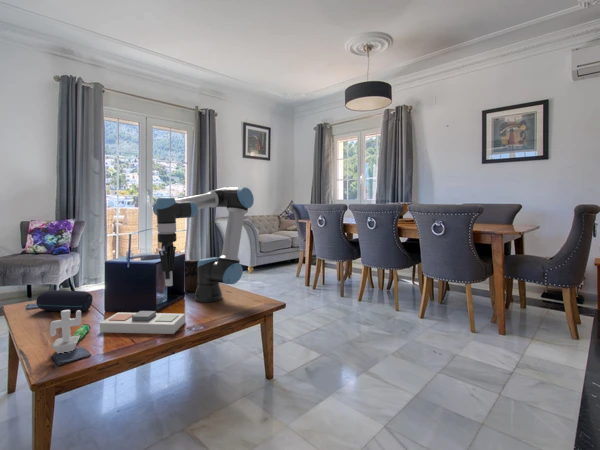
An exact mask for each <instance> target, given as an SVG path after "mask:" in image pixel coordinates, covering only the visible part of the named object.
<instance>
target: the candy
mask: <svg viewBox="0 0 600 450" xmlns="http://www.w3.org/2000/svg"><path fill="white" fill-rule="evenodd" d="M90 330H91V326H90V325H89V324H88V323H87V324H85V323H84V324H82V325H81V326H80V327H79V328H78V329H77V330H76V331H75V333H74V334H73V335H72V334H71V337H72V336H79V335H80V337H79V340H78V342H80V341H81V339H83V337H84V336H85V335H86V334H87V333H88V332H89V331H90Z"/></svg>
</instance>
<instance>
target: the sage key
mask: <svg viewBox="0 0 600 450" xmlns="http://www.w3.org/2000/svg"><path fill="white" fill-rule="evenodd" d="M177 317H178V315H162V316H160V317H159V318H158V319H157V320H155V322H173V321H174V320H175V319H176V318H177Z"/></svg>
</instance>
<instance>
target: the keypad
mask: <svg viewBox="0 0 600 450" xmlns="http://www.w3.org/2000/svg"><path fill="white" fill-rule="evenodd" d="M136 313H137V312H123V311H121V312H116V313H114V314H113V315H111V316H109V317H108V318H106V319H103V320H102V321H101V322H99V333H106V334H107V333H112V334H113V333H114V334H115V333H116V334H122V333H124V334H156V335H157V334H162V335H165V334H166V335H174V334H175V333H176V332H177V331H178V330H179V329H180V328H181V327H182V326H183V325H184V324H186V313H173V312H172V313H170V312H169V313H167V312H162V313H161V312H156V316H155V317H154V318H153V319H151V320H150V321H149V322H145V321H132V317H131V318H129V319H128V320H126V321H109V319H111V318H112V317H114V316H116V315H117V314H134V315H135V314H136ZM162 315H178V317H177V318H176V319H175V320H174V321H173V322H155V320H157V319H158V318H159V317H160V316H162Z"/></svg>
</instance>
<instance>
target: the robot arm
mask: <svg viewBox="0 0 600 450" xmlns="http://www.w3.org/2000/svg"><path fill="white" fill-rule="evenodd" d="M254 199H255V198H254V195H253V193H252V190H251V189H250V188H249V187H245V186H244V187H243V186H231V187H229V186H227V187H221V188H218V189H212V190H208V192H206V193H202V194H197V195H191V196H186V197H182V198H175V197H157V199H156V202H155V203H154V204H153V206H152V211H153V214H154V216H156V223H157V224H156V227H157V233H158V234H157V241H158V243H160V244H161V248H160V249H161V250H158V255H159V257H160V258H159V259H160V264H161V271H162V272H164V283H165V284H164V285H165V287H172V286H173V285H174V284H173V283H174V282H173V281H174V280H173V271H175V263H176V262H175V260H176V249H177V247H176V246H175V245H174V243H175V242H177V233H176V232H177V222H176V219H190V218H194V217H196V216H197V215H198V213H199V210H202V209H206V208H214V209H215V208H226V210H227V212H228V215H227V216H228V217H227V220H226V221H227V222H226V227H225V228H226V229H225V233H224V238H223V239H224V240H223V246H222V252H221V255H220V256H219V257H217V256H216V257H215V256H214V257H208V258H207V257H205V258H201V259H198V260H199V261H198V266H197V277H198V286H197V289H196V293H194V301H196V302H198V303H213V302H217V301H220V300H222V298H223V292H222V290H221V287H220V284H225V285H235V284H237V283H238V282H240V280H241V278H242V275H243V271H244V270H243V265H242V264H241V263H240V262H241V259H239V257H238V256H239V250H240V244H241V238H242V232H243V227H244V226H243V225H244V220H245V215H246V214H247V213H248V211H249V209H250V208H252V206H253V205H254Z"/></svg>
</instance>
